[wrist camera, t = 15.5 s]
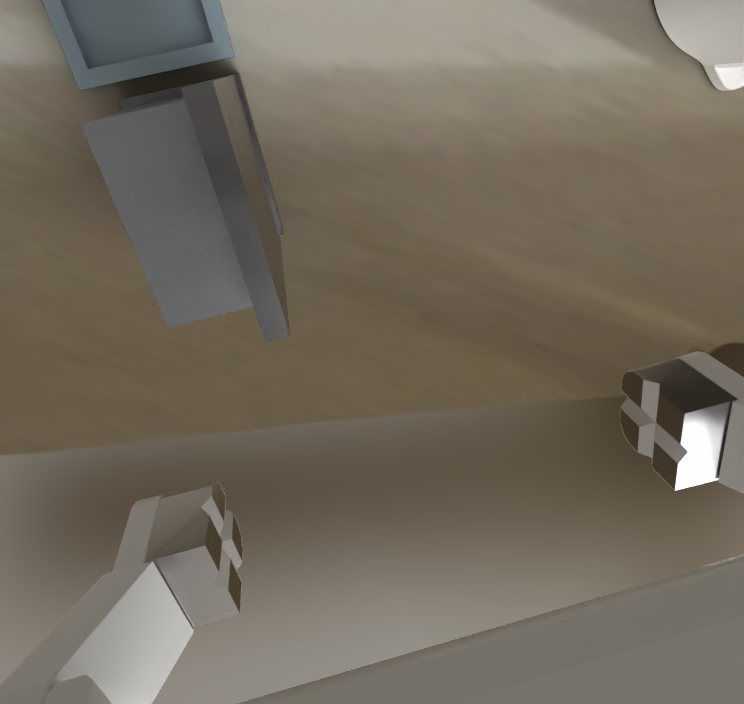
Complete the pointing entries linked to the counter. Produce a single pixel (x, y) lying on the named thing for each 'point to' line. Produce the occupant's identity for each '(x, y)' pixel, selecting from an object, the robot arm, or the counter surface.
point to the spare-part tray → (137, 37)
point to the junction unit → (196, 201)
